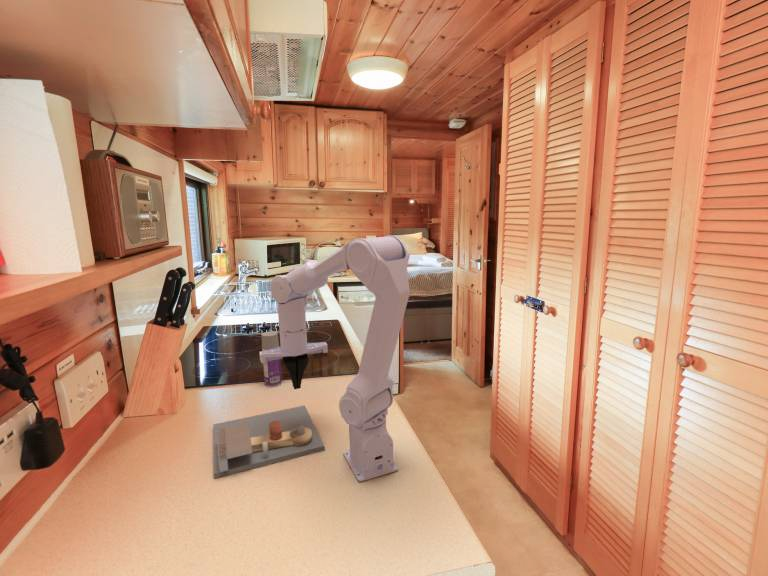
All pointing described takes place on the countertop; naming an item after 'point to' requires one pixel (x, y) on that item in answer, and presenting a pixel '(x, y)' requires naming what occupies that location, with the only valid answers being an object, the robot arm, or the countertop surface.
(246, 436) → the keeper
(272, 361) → the container
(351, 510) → the countertop surface
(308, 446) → the board
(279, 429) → the latch
